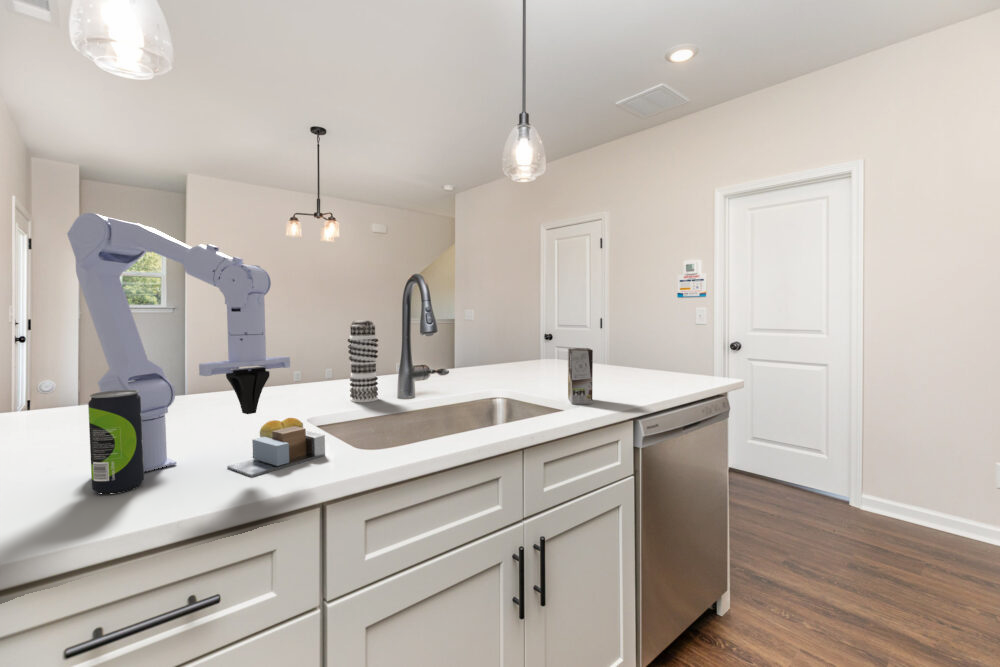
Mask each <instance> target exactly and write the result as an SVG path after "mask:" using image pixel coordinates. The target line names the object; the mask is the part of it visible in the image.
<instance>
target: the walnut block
mask: <svg viewBox="0 0 1000 667" xmlns="http://www.w3.org/2000/svg"><path fill="white" fill-rule="evenodd" d="M306 431H307V430H306V428H304V427H303V428H301V427H296V426H293V427H289V428H284V429H280V430H275V431H272V439H275V440H278V441H282V442H286V443H289V459H293V458H297V457H300V456H304V455H306Z"/></svg>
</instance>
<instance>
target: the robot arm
mask: <svg viewBox="0 0 1000 667" xmlns="http://www.w3.org/2000/svg"><path fill="white" fill-rule="evenodd" d="M66 233H67V237H68V240H69V243H70V247H71V248H72V251H73V254H74V258H75V272H76V273H75V274H76V277H77V280H78V282H79V286H80V288H81V291H82V294H83V296H84V300H85V303H86V305H87V306H86V307H87V309H88V312H89V314H90V318H91V320H92V323H93V326H94V328H95V331H96V334H97V337H98V340H99V343H100V346H101V348H102V352H103V354H104V357H105V360H106V363H107V366H108V368H109V369H108V370H107V371H106V372H105V374H104V375H103V376H102V377H101V378H100V379H99V380H98V381H97V384H98V388H99V391H100V392H106V391H117V390H137V391H138V393H137V394H138V395H139V396H140V397H141V420H142V445H143V470H144V473H146V472H149V471H155V470H159V469H162V467H163V468H167V467H170V465H171V466H175V465H177V461H176V460H173V459H171V458H168V455H167V454H168V453H167V451H168V450H167V431H166V430H167V429H166V428H167V427H166V414H168V413H169V411H168V410H169V407H171V406H172V404H173V403H174V401H175V399H176V390H175V387H174V384H173V383H172V381H170V380H169V379H168V378H167V376H166V375H165V372H164V370H163V368H162V367H161V366H159V365H157V364H155V362H153V361H151V360H149V359H148V356H147V354H146V350H145V347H144V344H143V341H142V339H141V336H140V332H139V331H138V327H137V324H136V322H135V319H134V316H133V313H132V309H131V307H130V304H129V301H128V299H127V296H126V293H125V289H124V287H123V285H122V281H121V278H120V277H121V276H122V274H123V273H124V272H127V271H128V270H130V268H131V267H132V266H133V265H135V264H136V263H137V262H138V261H139V260H140V259H141V258H142V257H144V256H145V255H146V253H154V254H157V255H160V256H162V257H165V258H167V259H169V260H173V261H174V262H178V263H179V264H181V265H183V269H184V271H185V272H186V274H187V275H188V276H191V277H193V278H194V279H198V280H200V281H202V282H204V283H207V284H208V285H211V286H212V287H216V288H217V289H219V291H220V292H221V294H222V295H223V297H224V304H225V305H226V323H227V326H226V327H227V353H228V354H227V357H228V360H220V361H210V362H204V363H203V362H202V363H198V368H199V369H198V370H199V371H198V372H199V373H198V375H199V376H201V377H210V376H216V375H224V374H225V377H226V379H227V381H228V382H229V384H230V385H231V387H232V389H233V390H234V392H235V395H236V397H237V399H238V401H239V406H240V409H241V413H242V414H245V415H251V414H256V413H257V409H258V405H259V404H258V403H259V400H260V398H261V394H262V392H263V389H264V387H265V385H266V383H267V381H268V380H269V379H270V371H269V369H270V370H271V369H281V368H291V357H290V356H274V357H272V356H271V357H270V356H269V357H267V353H266V352H267V350H266V349H267V348H266V347H267V346H266V344H267V342H266V341H267V340H266V316H265V315H266V310H265V309H266V308H265V307H266V304H265V296H267V294H268V293H269V292H270V289H271V286H272V285H271V284H272V281H271V277H270V275H269V273H268V272H267V270H265V269H264V268H262V267H261V266H260V265H257V264H256V265H255V264H254V265H250V264H249V265H248V264H245V263H244V262H243V261H244V260H243V258H241V257H239V256H233V257H232V256H230V255H227V254H225V253H223V252H221V251H219V249H220V247H219V246H216V245H213V244H210V243H209V244H206V245H205V244H198V245H195V246H190V245H188V244H186V243H184V242H182V241H180V240H177V238H174V237H171V236H169V235H168V234H166V233H164V232H162V231H160V230H157V229H156V228H154V227H150V226H147V225H143V224H141V223H138V222H129V221H127V220H126V221H125V220H121V219H117V218H113V217H108V216H103V215H100V214H99V213H94V212H85V213H82V214H79V216H77V218H75V219H74V221H73V223H72V225H71V226H70V228H69V230H68V232H66ZM244 367H246V368H244ZM166 466H167V467H166ZM158 468H159V469H158ZM154 469H155V470H154ZM145 471H146V472H145Z"/></svg>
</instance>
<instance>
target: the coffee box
mask: <svg viewBox="0 0 1000 667" xmlns="http://www.w3.org/2000/svg"><path fill="white" fill-rule="evenodd" d="M593 351H594V350H593V349H590V348H588V347H574V348H567V398H568V401H569V402H570V403H571V405H592V404H593V361H594V360H593V357H594V356H593V355H594V352H593Z"/></svg>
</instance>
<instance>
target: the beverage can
mask: <svg viewBox="0 0 1000 667" xmlns="http://www.w3.org/2000/svg"><path fill="white" fill-rule="evenodd" d="M137 393H138V391H137V390H117V391H106V392H96V393H91V394H90V397H91V399H90V400H89V401H88V403H87V405H88V423H89V424H88V425H89V426H88V428H89V446H90V448H89V450H90V469H91V470H90V471H91V489H92V491H94V492H95V493H96V492H97V494H98V493H102V494H110V493H117V494H119V493H118V492H122V493H124V492H123V491H126V492H128V491H127V490H129V491H131V489H132V490H134V489H133V488H135V489H136V487H137V488H138V487H140V485H141V483H142V482H143V481H144V480H145V476H144V475H145V472H144V470H143V445H142V420H141V397H140V396H139V395H138V394H137ZM110 495H111V494H110Z"/></svg>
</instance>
